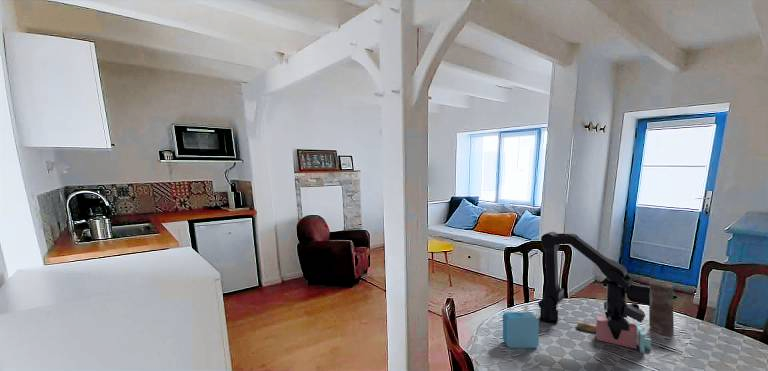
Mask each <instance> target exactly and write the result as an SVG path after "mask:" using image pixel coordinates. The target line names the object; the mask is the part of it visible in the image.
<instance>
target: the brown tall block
mask: <svg viewBox="0 0 768 371" xmlns="http://www.w3.org/2000/svg"><path fill="white" fill-rule="evenodd" d="M648 286H650V287H651V291H652V304H651V306H648V308H649V309H648V310H649V311H648V312H649V315H648V316H649V317H648V319H649V320H648V322H649V327H650V328H651V329H652V330H653V331H654V332H657V333H659V334H660V335H663V336H673V335H674V333H675V332H674V321H675V320H674V288H673V285H672V284H670V283H662V282H661V283H660V282H657V281H650V282H648Z"/></svg>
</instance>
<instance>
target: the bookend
mask: <svg viewBox="0 0 768 371" xmlns="http://www.w3.org/2000/svg"><path fill="white" fill-rule="evenodd" d="M635 325H636V327H637V348H638V352H639V354H643V355H644V354H645V350H647V351H651V350H652V339H651V337H650V338H648V337H645V333H644V330H643V328H642V325H641V324H640V323H639V324H637V323H635Z"/></svg>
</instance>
